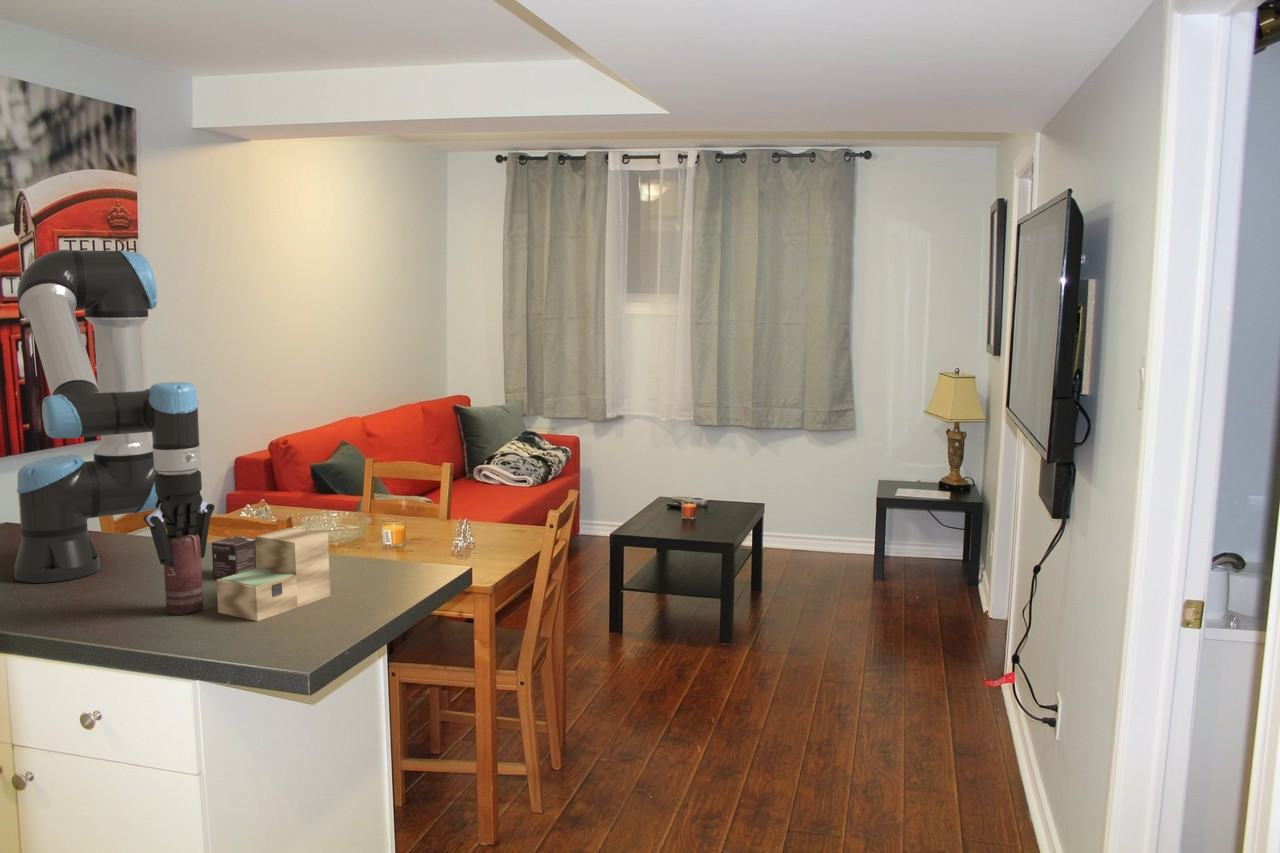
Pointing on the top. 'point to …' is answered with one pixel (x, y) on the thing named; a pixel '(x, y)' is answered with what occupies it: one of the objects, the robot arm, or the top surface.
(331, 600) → the top surface
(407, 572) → the top surface
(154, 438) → the robot arm
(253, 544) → the box
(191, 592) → the can
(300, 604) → the stand
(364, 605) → the top surface
